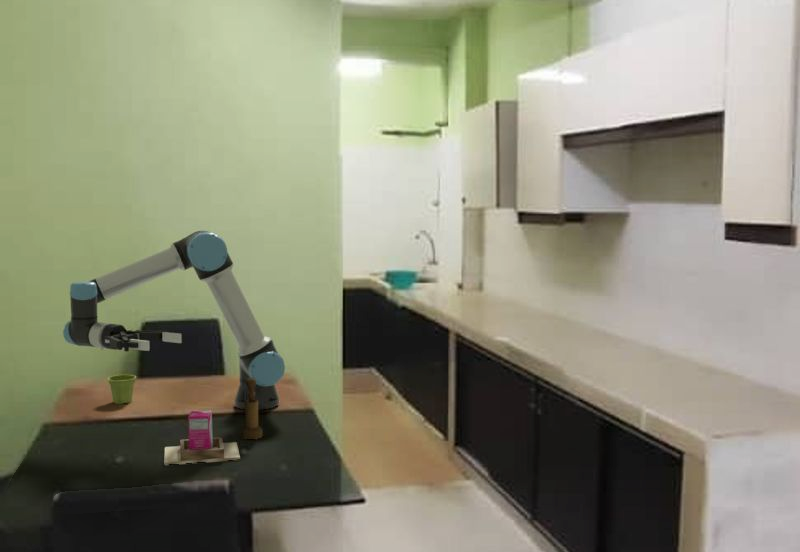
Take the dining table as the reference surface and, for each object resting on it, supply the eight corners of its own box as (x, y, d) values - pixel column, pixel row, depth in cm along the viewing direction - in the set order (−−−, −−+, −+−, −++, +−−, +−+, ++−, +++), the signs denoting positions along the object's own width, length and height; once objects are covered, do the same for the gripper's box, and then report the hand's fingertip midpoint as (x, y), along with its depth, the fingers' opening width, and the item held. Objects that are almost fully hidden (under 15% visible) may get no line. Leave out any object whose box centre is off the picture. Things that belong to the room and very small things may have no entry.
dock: (236, 444, 239) (236, 433, 239) (239, 459, 226) (239, 448, 226) (164, 449, 234) (164, 438, 234) (164, 465, 221) (164, 453, 220)
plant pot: (127, 406, 281) (127, 381, 281) (102, 404, 283) (102, 379, 282) (141, 399, 291) (141, 375, 290) (117, 397, 292) (116, 373, 292)
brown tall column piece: (266, 435, 249) (266, 376, 248) (256, 441, 243) (255, 381, 241) (247, 432, 252) (246, 374, 250) (236, 438, 245) (235, 379, 244)
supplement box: (192, 450, 232) (191, 410, 230) (213, 449, 232) (213, 410, 231) (188, 456, 226) (187, 415, 225) (210, 456, 226) (209, 415, 225)
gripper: (138, 341, 257) (193, 347, 249) (77, 355, 235) (134, 362, 226) (138, 318, 257) (192, 323, 248) (76, 329, 234) (133, 335, 225)
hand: (165, 342), depth 237 cm, fingers open, 13 cm apart
